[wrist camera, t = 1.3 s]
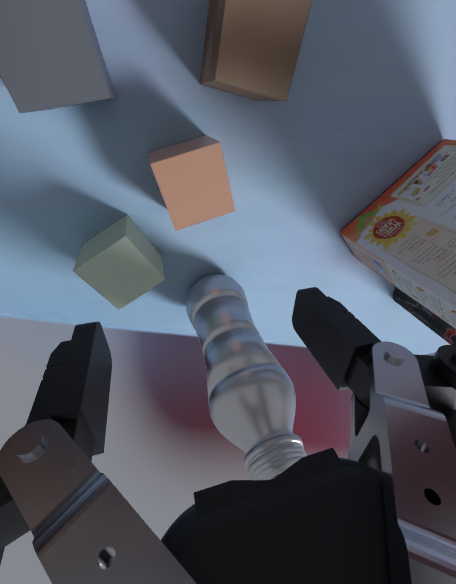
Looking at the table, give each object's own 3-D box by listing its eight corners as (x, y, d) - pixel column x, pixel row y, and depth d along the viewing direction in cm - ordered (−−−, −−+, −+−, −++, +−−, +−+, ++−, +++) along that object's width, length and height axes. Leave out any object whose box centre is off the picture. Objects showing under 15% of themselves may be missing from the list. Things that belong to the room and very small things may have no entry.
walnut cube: (210, -10, 18) (231, -42, 14) (277, 17, 19) (313, -5, 15) (199, 84, 20) (215, 80, 16) (259, 100, 22) (286, 100, 18)
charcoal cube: (-3, 8, 16) (-50, -22, 12) (84, -3, 16) (67, -35, 12) (44, 110, 19) (19, 113, 15) (116, 98, 19) (110, 97, 15)
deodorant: (391, 308, 43) (487, 386, 31) (394, 281, 39) (503, 357, 28) (424, 293, 43) (532, 365, 31) (430, 264, 39) (554, 334, 28)
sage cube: (82, 243, 24) (72, 270, 21) (127, 214, 24) (125, 236, 20) (121, 280, 28) (118, 309, 24) (161, 254, 27) (165, 280, 23)
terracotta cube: (147, 152, 22) (150, 164, 18) (205, 134, 22) (220, 142, 18) (169, 210, 25) (175, 230, 21) (219, 193, 25) (234, 210, 21)
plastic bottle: (245, 297, 33) (342, 471, 18) (197, 321, 33) (250, 515, 18) (226, 257, 29) (329, 436, 14) (172, 284, 29) (212, 494, 14)
